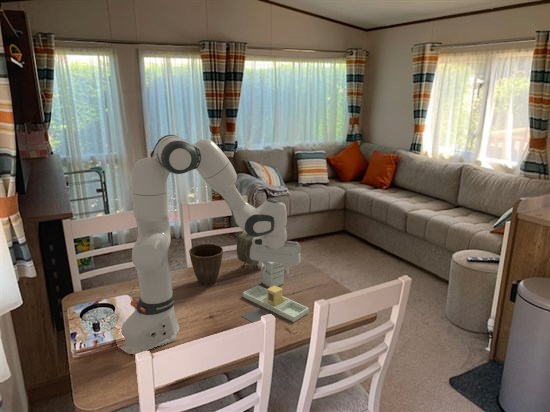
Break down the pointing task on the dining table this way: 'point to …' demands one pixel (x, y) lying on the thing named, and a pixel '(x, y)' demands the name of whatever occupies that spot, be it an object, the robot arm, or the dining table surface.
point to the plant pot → (206, 262)
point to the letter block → (274, 296)
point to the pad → (254, 314)
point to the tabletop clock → (245, 249)
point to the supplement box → (273, 274)
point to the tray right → (292, 310)
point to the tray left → (255, 294)
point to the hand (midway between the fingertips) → (275, 271)
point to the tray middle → (264, 304)
